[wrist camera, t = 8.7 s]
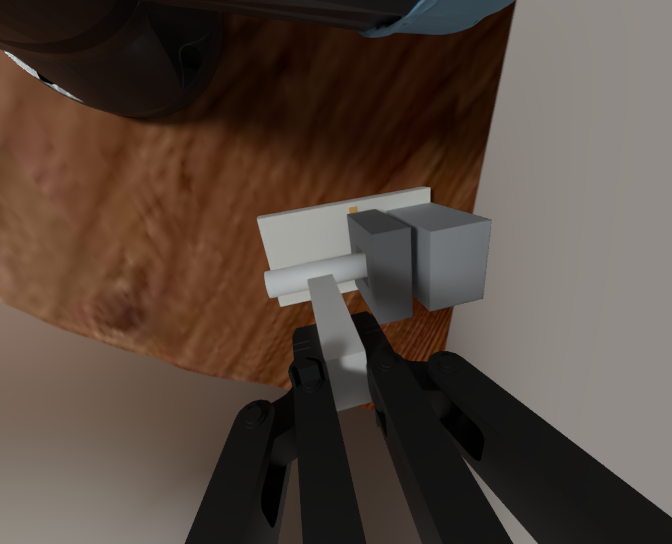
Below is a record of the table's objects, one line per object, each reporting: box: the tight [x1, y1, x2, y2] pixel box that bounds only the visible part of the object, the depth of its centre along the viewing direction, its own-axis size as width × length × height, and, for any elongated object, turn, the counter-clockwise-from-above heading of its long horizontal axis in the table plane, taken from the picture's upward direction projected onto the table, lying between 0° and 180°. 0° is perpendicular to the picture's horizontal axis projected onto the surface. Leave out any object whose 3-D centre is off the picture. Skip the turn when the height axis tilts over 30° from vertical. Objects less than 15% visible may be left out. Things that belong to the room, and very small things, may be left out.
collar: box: [347, 209, 413, 325], centre depth 24 cm, size 3×8×8 cm, turn 8°
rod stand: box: [257, 186, 492, 311], centre depth 25 cm, size 18×10×10 cm, turn 98°
